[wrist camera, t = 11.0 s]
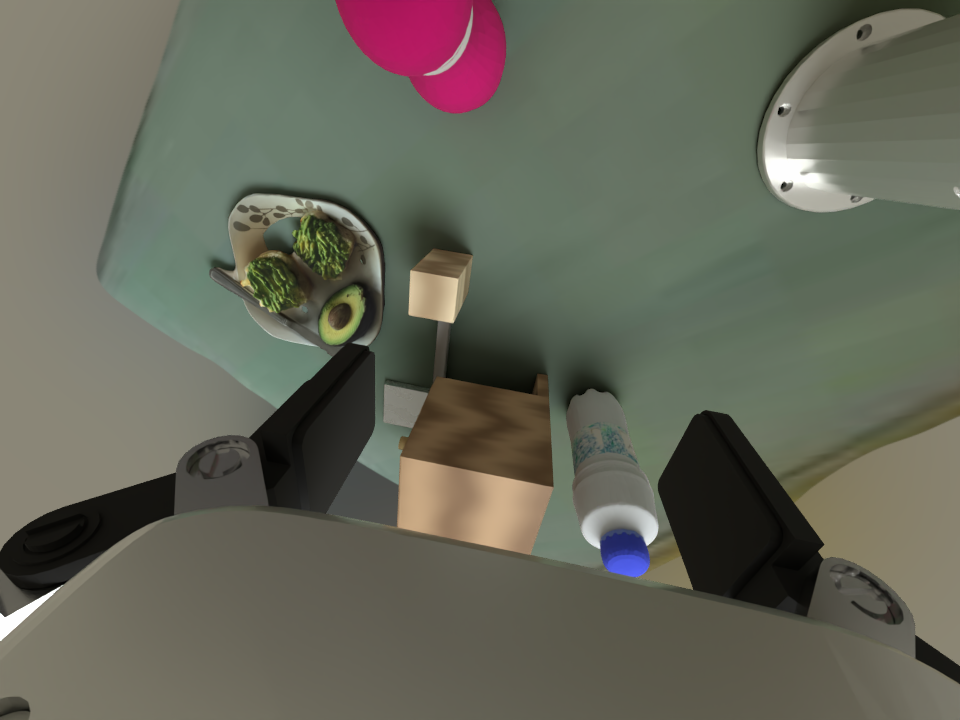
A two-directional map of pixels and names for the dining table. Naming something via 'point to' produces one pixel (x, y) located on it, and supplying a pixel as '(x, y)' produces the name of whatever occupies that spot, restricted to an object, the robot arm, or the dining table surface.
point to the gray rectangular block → (403, 403)
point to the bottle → (610, 484)
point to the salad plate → (307, 272)
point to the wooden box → (478, 465)
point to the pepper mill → (433, 46)
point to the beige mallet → (440, 296)
